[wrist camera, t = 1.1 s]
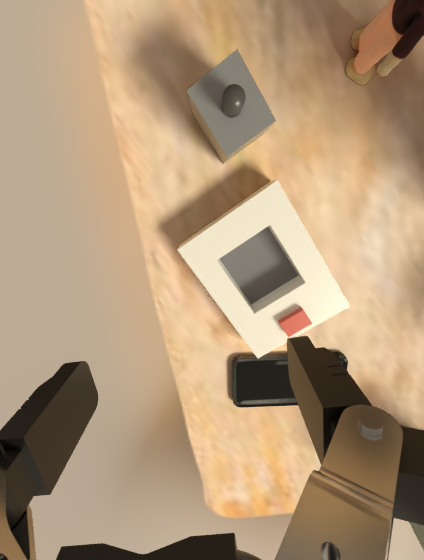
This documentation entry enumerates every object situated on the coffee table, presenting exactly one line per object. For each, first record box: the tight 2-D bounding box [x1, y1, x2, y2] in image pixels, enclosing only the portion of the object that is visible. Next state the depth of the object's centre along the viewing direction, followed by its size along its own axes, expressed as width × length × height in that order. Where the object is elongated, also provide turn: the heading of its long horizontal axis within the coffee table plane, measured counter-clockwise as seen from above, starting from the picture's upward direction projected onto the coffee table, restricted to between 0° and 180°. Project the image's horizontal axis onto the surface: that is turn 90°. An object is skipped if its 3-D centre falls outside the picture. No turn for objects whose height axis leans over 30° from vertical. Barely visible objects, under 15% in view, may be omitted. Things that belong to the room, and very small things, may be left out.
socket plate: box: [177, 180, 350, 358], centre depth 31 cm, size 12×16×4 cm
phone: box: [232, 352, 348, 407], centre depth 37 cm, size 8×1×15 cm
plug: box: [187, 50, 276, 164], centre depth 23 cm, size 4×6×9 cm
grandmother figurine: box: [345, 0, 424, 85], centre depth 19 cm, size 8×4×13 cm, turn 4°
